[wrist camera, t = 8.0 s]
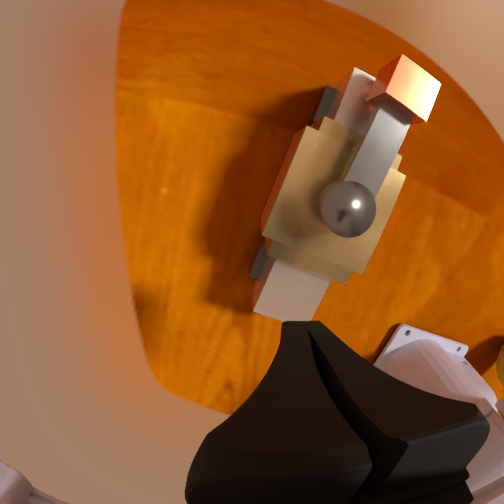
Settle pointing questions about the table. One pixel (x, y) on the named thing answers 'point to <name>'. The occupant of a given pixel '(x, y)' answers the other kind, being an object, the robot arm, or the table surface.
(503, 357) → the lemon
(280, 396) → the robot arm
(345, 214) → the lever
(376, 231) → the valve
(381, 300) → the table surface
